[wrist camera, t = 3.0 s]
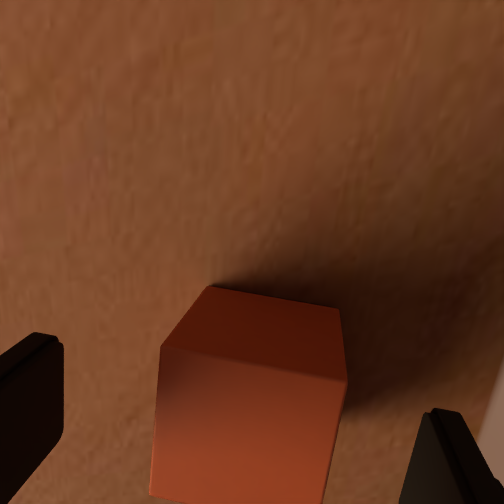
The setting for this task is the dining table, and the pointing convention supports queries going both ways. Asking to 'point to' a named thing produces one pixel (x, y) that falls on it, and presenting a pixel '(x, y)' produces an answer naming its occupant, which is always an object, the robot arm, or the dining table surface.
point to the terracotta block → (248, 401)
